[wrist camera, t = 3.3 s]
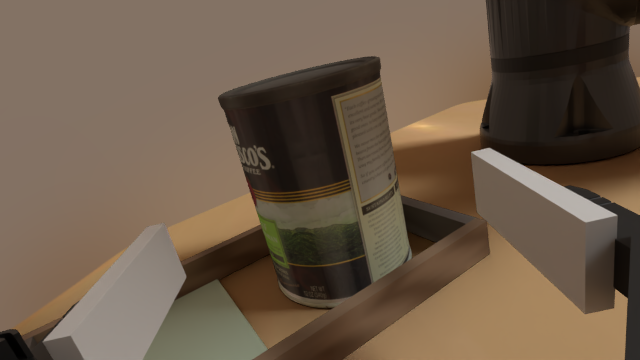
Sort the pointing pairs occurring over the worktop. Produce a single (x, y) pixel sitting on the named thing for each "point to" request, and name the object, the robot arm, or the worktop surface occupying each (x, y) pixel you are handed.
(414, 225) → the wooden serving tray
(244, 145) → the coffee can
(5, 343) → the robot arm
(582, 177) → the worktop surface
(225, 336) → the pad
